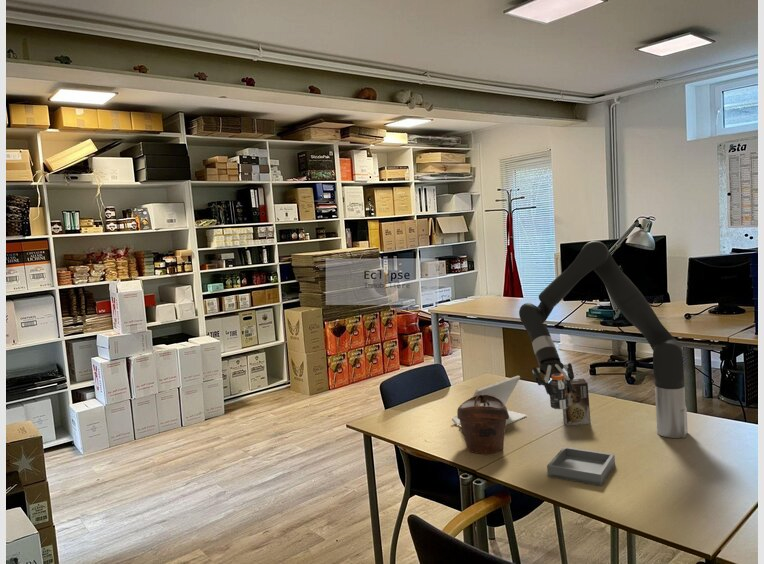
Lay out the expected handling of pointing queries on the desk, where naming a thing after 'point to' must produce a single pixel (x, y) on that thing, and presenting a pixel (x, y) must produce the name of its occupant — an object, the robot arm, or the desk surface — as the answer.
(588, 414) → the coffee box
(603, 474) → the tray
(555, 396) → the pill bottle
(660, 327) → the robot arm
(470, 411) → the brown tapered container
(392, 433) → the desk surface
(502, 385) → the tablet stand
